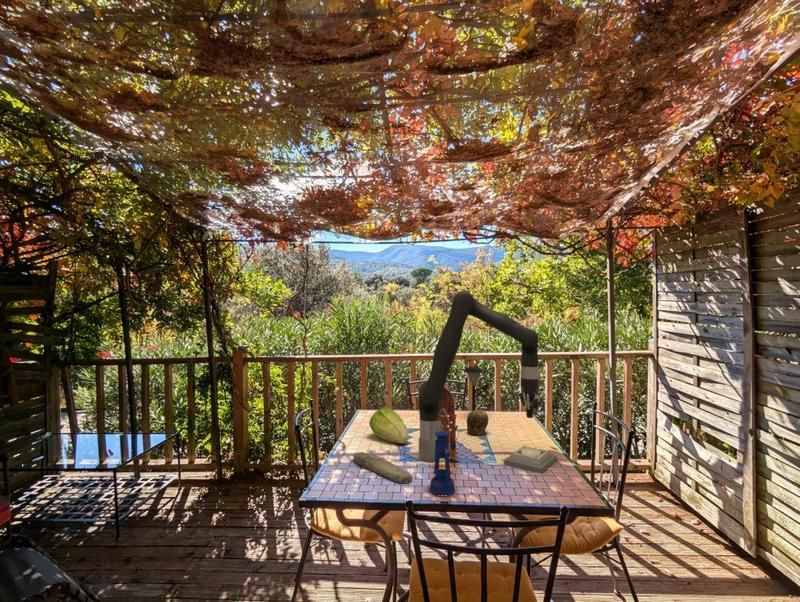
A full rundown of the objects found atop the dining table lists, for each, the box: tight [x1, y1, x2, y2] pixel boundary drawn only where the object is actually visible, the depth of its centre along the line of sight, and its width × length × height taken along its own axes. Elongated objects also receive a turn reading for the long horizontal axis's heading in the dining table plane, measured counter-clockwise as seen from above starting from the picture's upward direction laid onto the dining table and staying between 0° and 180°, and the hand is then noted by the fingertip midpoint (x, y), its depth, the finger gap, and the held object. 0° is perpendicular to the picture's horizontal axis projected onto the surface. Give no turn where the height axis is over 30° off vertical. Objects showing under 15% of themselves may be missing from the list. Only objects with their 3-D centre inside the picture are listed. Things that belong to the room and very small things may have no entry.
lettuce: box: [368, 406, 409, 444], centre depth 224 cm, size 15×24×16 cm
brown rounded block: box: [466, 409, 489, 437], centre depth 233 cm, size 11×11×12 cm
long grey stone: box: [352, 451, 413, 485], centre depth 186 cm, size 35×5×10 cm
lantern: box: [428, 408, 456, 497], centre depth 165 cm, size 11×9×30 cm
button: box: [521, 446, 541, 458], centre depth 193 cm, size 8×8×3 cm
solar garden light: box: [462, 366, 485, 411], centre depth 256 cm, size 12×12×30 cm
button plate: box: [503, 445, 558, 474], centre depth 193 cm, size 18×16×4 cm
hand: (529, 417), depth 193 cm, fingers closed
